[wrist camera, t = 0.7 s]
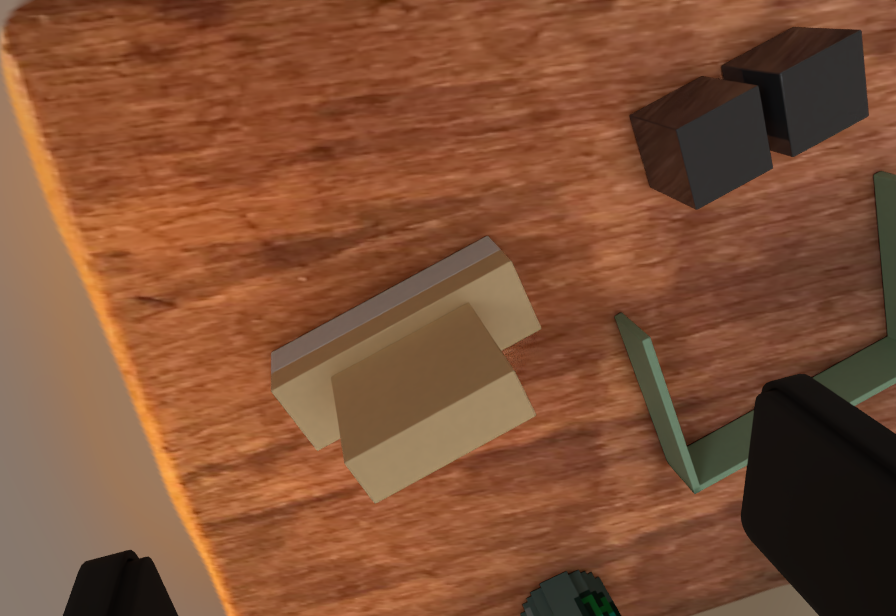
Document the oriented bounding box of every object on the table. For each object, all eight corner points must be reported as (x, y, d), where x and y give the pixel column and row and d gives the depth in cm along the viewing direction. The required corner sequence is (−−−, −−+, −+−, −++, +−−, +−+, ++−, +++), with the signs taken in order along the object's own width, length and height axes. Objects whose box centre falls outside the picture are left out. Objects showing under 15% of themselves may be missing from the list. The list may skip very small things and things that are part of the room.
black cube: (628, 115, 30) (676, 129, 26) (702, 75, 30) (759, 84, 26) (649, 187, 32) (696, 210, 28) (718, 150, 32) (773, 168, 28)
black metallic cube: (720, 65, 30) (779, 73, 26) (793, 26, 30) (862, 28, 26) (735, 141, 32) (793, 158, 28) (804, 103, 32) (869, 116, 28)
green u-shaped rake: (613, 316, 35) (641, 341, 32) (880, 170, 35) (930, 183, 32) (697, 544, 45) (723, 577, 42) (901, 430, 45) (940, 456, 43)
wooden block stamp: (270, 352, 30) (270, 483, 22) (487, 235, 31) (567, 320, 22) (312, 409, 32) (327, 549, 24) (516, 298, 33) (600, 399, 24)
